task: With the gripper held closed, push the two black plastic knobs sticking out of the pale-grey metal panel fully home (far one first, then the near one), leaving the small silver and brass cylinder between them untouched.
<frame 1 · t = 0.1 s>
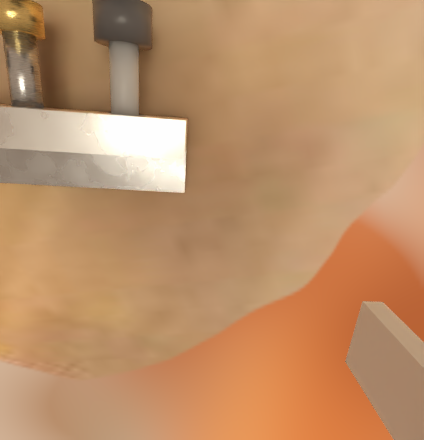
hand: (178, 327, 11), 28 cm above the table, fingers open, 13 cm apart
silver and brass cylinder: (23, 67, 27), point 5 cm above the table, slide at 0.0 cm
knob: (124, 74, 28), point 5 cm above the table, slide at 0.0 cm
panel: (52, 122, 34), on the table
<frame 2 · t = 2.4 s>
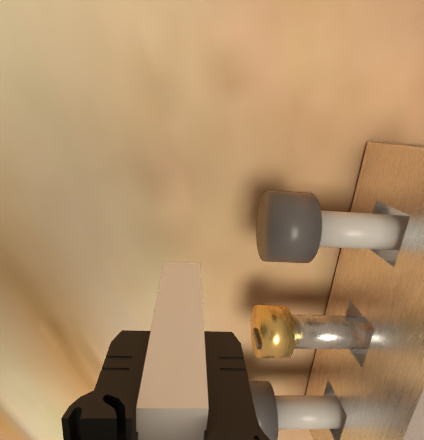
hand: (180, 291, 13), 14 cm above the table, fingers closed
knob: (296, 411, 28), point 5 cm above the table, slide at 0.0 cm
silver and brass cylinder: (316, 331, 25), point 5 cm above the table, slide at 0.0 cm
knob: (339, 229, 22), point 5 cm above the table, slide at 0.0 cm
panel: (343, 298, 30), on the table
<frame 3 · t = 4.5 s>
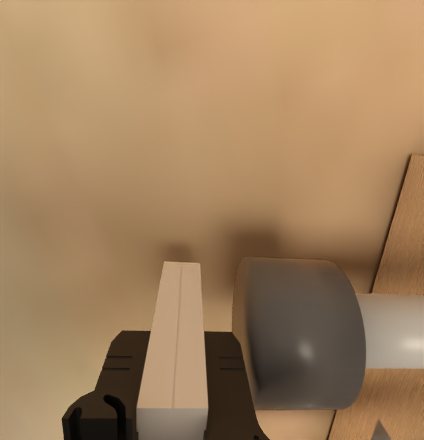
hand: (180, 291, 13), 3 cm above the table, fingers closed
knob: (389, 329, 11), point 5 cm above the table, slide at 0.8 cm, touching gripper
panel: (364, 393, 19), on the table
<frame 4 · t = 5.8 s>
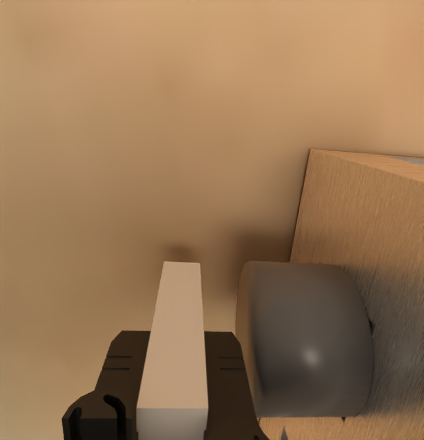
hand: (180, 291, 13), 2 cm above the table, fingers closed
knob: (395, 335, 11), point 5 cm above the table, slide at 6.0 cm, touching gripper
panel: (288, 398, 19), on the table
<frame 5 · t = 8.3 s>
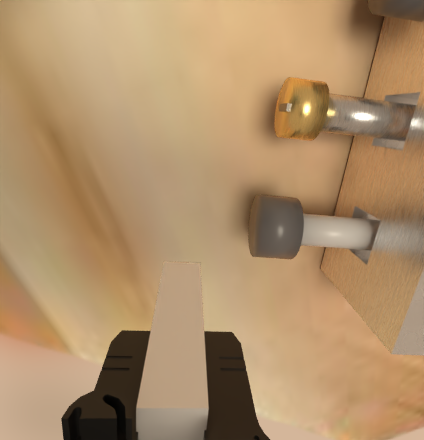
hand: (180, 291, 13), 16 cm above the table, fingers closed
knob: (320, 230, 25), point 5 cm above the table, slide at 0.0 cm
silver and brass cylinder: (350, 116, 22), point 5 cm above the table, slide at 0.0 cm
panel: (374, 121, 27), on the table
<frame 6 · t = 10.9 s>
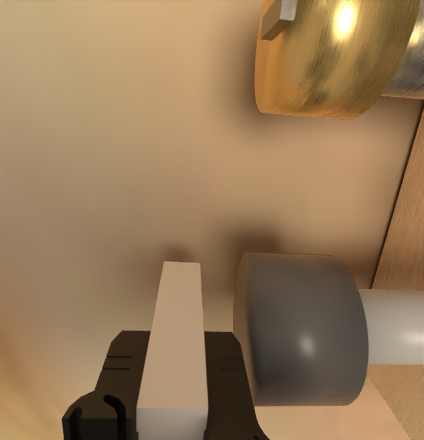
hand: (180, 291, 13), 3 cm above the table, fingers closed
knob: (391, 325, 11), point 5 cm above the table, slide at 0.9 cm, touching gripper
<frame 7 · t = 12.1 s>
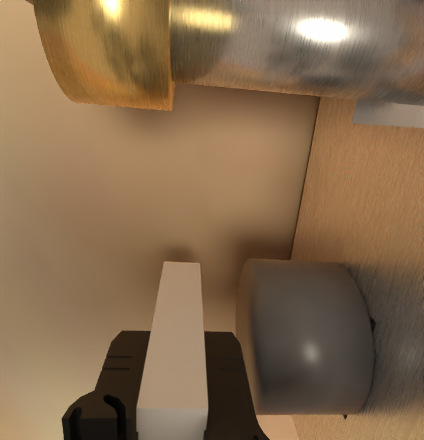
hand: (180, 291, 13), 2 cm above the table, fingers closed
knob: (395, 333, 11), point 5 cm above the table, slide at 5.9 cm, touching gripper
silver and brass cylinder: (280, 35, 8), point 5 cm above the table, slide at 0.0 cm
panel: (359, 76, 13), on the table
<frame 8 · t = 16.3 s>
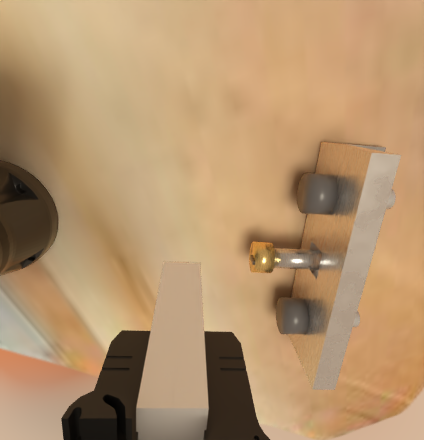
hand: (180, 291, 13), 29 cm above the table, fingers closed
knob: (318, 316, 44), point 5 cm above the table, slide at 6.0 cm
silver and brass cylinder: (289, 258, 40), point 5 cm above the table, slide at 0.0 cm
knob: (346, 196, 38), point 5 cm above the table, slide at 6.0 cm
panel: (310, 245, 45), on the table
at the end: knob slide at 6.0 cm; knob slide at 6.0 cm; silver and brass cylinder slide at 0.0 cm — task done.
